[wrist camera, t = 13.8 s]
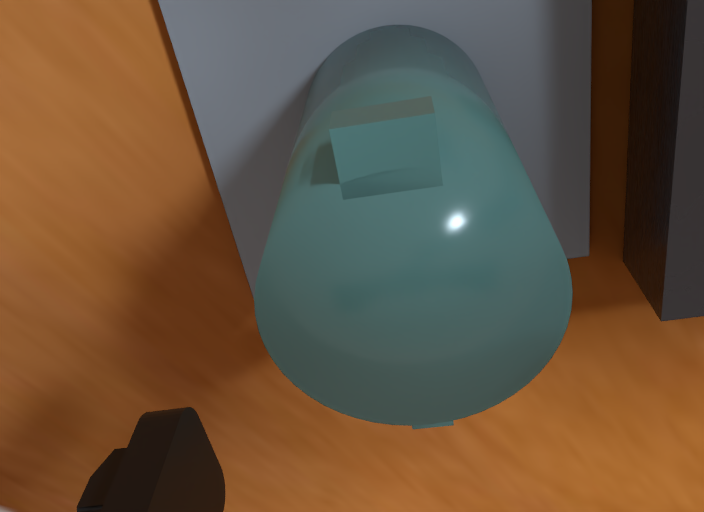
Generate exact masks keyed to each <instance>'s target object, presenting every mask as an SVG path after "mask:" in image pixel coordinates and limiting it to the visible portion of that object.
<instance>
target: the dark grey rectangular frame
mask: <svg viewBox="0 0 704 512" xmlns="http://www.w3.org/2000/svg"><path fill="white" fill-rule="evenodd" d="M623 262H624V263H625V265H626V266H627V268H628V270H629V271H630V273H631V274H632V276H633V278H634V279H635V281H636V282H637V284H638V286H639V287H640V289H641V290H642V292H643V294H644V295H645V297H646V298H647V300H648V301H649V303H650V305H651V306H652V308H653V309H654V311H655V313H656V314H657V316H658V317H659V319H660V321H668V320H676V319H684V318H691V317H699V316H704V0H634V17H633V41H632V64H631V88H630V111H629V135H628V158H627V182H626V205H625V229H624V252H623Z"/></svg>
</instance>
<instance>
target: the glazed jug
mask: <svg viewBox="0 0 704 512" xmlns="http://www.w3.org/2000/svg"><path fill="white" fill-rule="evenodd" d="M572 295H573V292H572V279H571V273H570V269H569V265H568V262H567V258H566V256H565V254H564V251H563V249H562V247H561V245H560V242H559V240H558V238H557V236H556V234H555V232H554V230H553V228H552V225H551V223H550V221H549V219H548V217H547V215H546V213H545V211H544V209H543V207H542V204H541V202H540V200H539V198H538V196H537V194H536V192H535V190H534V188H533V185H532V183H531V181H530V179H529V177H528V175H527V173H526V171H525V169H524V166H523V164H522V162H521V160H520V158H519V156H518V154H517V152H516V150H515V147H514V145H513V143H512V141H511V139H510V137H509V135H508V133H507V131H506V128H505V126H504V124H503V122H502V120H501V118H500V116H499V114H498V112H497V110H496V107H495V105H494V103H493V101H492V99H491V97H490V95H489V93H488V91H487V88H486V86H485V84H484V82H483V80H482V78H481V76H480V74H479V72H478V70H477V68H476V67H475V65H474V63H473V62H472V60H471V59H470V58H469V57H468V56H467V54H466V53H465V52H464V51H463V50H462V49H461V48H460V47H459V46H457V45H456V44H455V43H454V42H452V41H451V40H449V39H448V38H446V37H445V36H443V35H441V34H439V33H436V32H434V31H432V30H429V29H426V28H422V27H418V26H412V25H386V26H380V27H376V28H372V29H369V30H366V31H364V32H361V33H358V34H357V35H355V36H353V37H351V38H349V39H348V40H346V41H345V42H343V43H342V44H341V45H339V46H338V47H337V48H336V49H335V50H334V51H333V52H332V53H331V54H330V55H329V56H328V57H327V58H326V59H325V61H324V62H323V63H322V65H321V66H320V68H319V69H318V71H317V73H316V75H315V76H314V79H313V81H312V84H311V86H310V89H309V93H308V96H307V100H306V103H305V107H304V110H303V114H302V118H301V121H300V125H299V128H298V132H297V135H296V139H295V142H294V146H293V150H292V153H291V157H290V160H289V164H288V167H287V171H286V175H285V178H284V182H283V185H282V189H281V192H280V196H279V200H278V203H277V207H276V210H275V214H274V217H273V221H272V224H271V228H270V232H269V235H268V239H267V242H266V246H265V249H264V253H263V257H262V260H261V264H260V267H259V271H258V275H257V279H256V284H255V295H254V304H255V316H256V321H257V325H258V330H259V333H260V335H261V338H262V340H263V343H264V345H265V348H266V349H267V351H268V353H269V354H270V356H271V358H272V360H273V361H274V362H275V364H276V365H277V366H278V368H279V369H280V370H281V371H282V373H283V374H284V375H285V376H286V377H287V378H288V379H289V380H290V381H291V382H292V383H293V384H294V385H295V386H296V387H298V388H299V389H300V390H302V391H303V392H304V393H305V394H307V395H308V396H310V397H311V398H313V399H314V400H316V401H318V402H319V403H321V404H323V405H325V406H327V407H329V408H331V409H333V410H335V411H338V412H340V413H343V414H346V415H349V416H352V417H354V418H358V419H362V420H366V421H371V422H375V423H383V424H390V425H410V426H411V425H412V429H420V428H430V427H441V426H451V425H454V424H453V420H457V419H461V418H465V417H468V416H470V415H473V414H476V413H479V412H482V411H484V410H486V409H488V408H490V407H493V406H495V405H497V404H499V403H501V402H502V401H504V400H506V399H507V398H509V397H510V396H512V395H514V394H515V393H516V392H518V391H519V390H520V389H522V388H523V387H524V386H526V385H527V384H528V383H529V382H530V381H531V380H532V379H533V378H534V377H535V376H536V375H537V374H538V373H540V372H541V370H542V369H543V368H544V367H545V365H546V364H547V363H548V362H549V360H550V359H551V358H552V356H553V355H554V353H555V351H556V350H557V348H558V346H559V345H560V343H561V340H562V338H563V336H564V333H565V331H566V329H567V325H568V321H569V317H570V313H571V307H572Z"/></svg>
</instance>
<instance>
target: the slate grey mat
mask: <svg viewBox="0 0 704 512" xmlns="http://www.w3.org/2000/svg"><path fill="white" fill-rule="evenodd" d="M158 2H159V5H160V8H161V11H162V14H163V17H164V20H165V23H166V27H167V30H168V33H169V36H170V39H171V42H172V45H173V48H174V52H175V55H176V58H177V61H178V64H179V67H180V70H181V73H182V77H183V80H184V83H185V86H186V89H187V92H188V95H189V98H190V102H191V105H192V108H193V111H194V114H195V117H196V120H197V123H198V126H199V130H200V133H201V136H202V139H203V142H204V145H205V148H206V151H207V155H208V158H209V161H210V164H211V167H212V170H213V173H214V176H215V180H216V183H217V186H218V189H219V192H220V195H221V198H222V201H223V204H224V208H225V211H226V214H227V217H228V220H229V223H230V226H231V229H232V233H233V236H234V239H235V242H236V245H237V248H238V251H239V254H240V258H241V261H242V264H243V267H244V270H245V273H246V276H247V279H248V283H249V286H250V289H251V292H252V295H253V298H254V295H255V284H256V279H257V275H258V271H259V267H260V264H261V260H262V257H263V253H264V249H265V246H266V242H267V239H268V235H269V232H270V228H271V224H272V221H273V217H274V214H275V210H276V207H277V203H278V200H279V196H280V192H281V189H282V185H283V182H284V178H285V175H286V171H287V167H288V164H289V160H290V157H291V153H292V150H293V146H294V142H295V139H296V135H297V132H298V128H299V125H300V121H301V118H302V114H303V110H304V107H305V103H306V100H307V96H308V93H309V89H310V86H311V84H312V81H313V79H314V76H315V75H316V73H317V71H318V69H319V68H320V66H321V65H322V63H323V62H324V61H325V59H326V58H327V57H328V56H329V55H330V54H331V53H332V52H333V51H334V50H335V49H336V48H337V47H338V46H339V45H341V44H342V43H343V42H345V41H346V40H348V39H349V38H351V37H353V36H355V35H357V34H358V33H361V32H364V31H366V30H369V29H372V28H376V27H380V26H386V25H412V26H418V27H422V28H426V29H429V30H432V31H434V32H436V33H439V34H441V35H443V36H445V37H446V38H448V39H449V40H451V41H452V42H454V43H455V44H456V45H457V46H459V47H460V48H461V49H462V50H463V51H464V52H465V53H466V54H467V56H468V57H469V58H470V59H471V60H472V62H473V63H474V65H475V67H476V68H477V70H478V72H479V74H480V76H481V78H482V80H483V82H484V84H485V86H486V88H487V91H488V93H489V95H490V97H491V99H492V101H493V103H494V105H495V107H496V110H497V112H498V114H499V116H500V118H501V120H502V122H503V124H504V126H505V128H506V131H507V133H508V135H509V137H510V139H511V141H512V143H513V145H514V147H515V150H516V152H517V154H518V156H519V158H520V160H521V162H522V164H523V166H524V169H525V171H526V173H527V175H528V177H529V179H530V181H531V183H532V185H533V188H534V190H535V192H536V194H537V196H538V198H539V200H540V202H541V204H542V207H543V209H544V211H545V213H546V215H547V217H548V219H549V221H550V223H551V225H552V228H553V230H554V232H555V234H556V236H557V238H558V240H559V242H560V245H561V247H562V249H563V251H564V254H565V256H566V258H567V259H570V258H577V257H584V256H589V223H590V124H591V26H592V0H158Z"/></svg>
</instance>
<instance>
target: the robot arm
mask: <svg viewBox="0 0 704 512" xmlns="http://www.w3.org/2000/svg"><path fill="white" fill-rule="evenodd" d="M224 504H225V482H224V476H223V472H222V469H221V466H220V464H219V462H218V459H217V457H216V455H215V453H214V450H213V448H212V446H211V444H210V441H209V439H208V437H207V434H206V432H205V430H204V428H203V425H202V423H201V421H200V419H199V416H198V414H197V413H196V411H195V410H194V409H193V408H191V407H186V408H178V409H170V410H162V411H154V412H147V413H144V414H143V415H142V416H141V417H140V419H139V421H138V423H137V425H136V428H135V430H134V433H133V435H132V437H131V440H130V442H129V444H128V447H127V448H121V449H114V451H113V452H112V453H111V454H110V455H109V456H108V458H107V459H106V460H105V461H104V462H103V463H102V464H101V466H100V467H99V468H98V469H97V470H96V471H95V472H94V474H93V475H92V476H91V477H90V479H89V481H88V484H87V486H86V488H85V490H84V492H83V495H82V497H81V499H80V501H79V503H78V505H77V512H223V510H224Z"/></svg>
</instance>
